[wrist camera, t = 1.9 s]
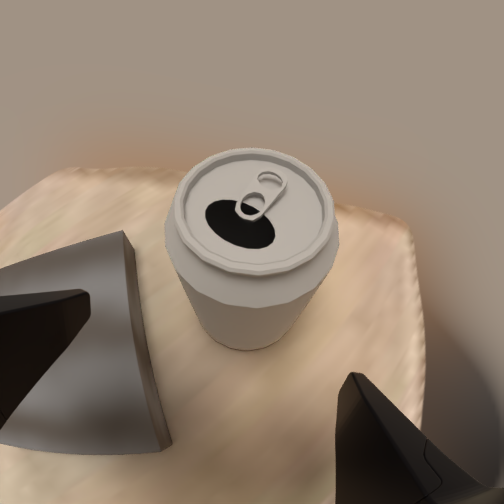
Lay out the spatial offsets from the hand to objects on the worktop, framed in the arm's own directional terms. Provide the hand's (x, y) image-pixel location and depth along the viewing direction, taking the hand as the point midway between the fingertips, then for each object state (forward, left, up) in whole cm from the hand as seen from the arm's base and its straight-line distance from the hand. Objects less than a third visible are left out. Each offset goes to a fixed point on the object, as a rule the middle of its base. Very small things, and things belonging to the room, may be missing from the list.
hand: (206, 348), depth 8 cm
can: (+5, -3, -11) cm, 13 cm away
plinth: (+4, +13, -11) cm, 18 cm away
